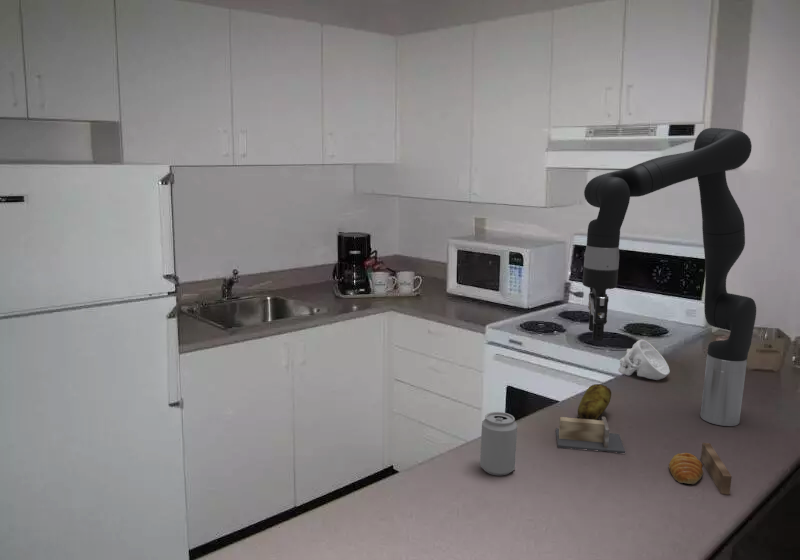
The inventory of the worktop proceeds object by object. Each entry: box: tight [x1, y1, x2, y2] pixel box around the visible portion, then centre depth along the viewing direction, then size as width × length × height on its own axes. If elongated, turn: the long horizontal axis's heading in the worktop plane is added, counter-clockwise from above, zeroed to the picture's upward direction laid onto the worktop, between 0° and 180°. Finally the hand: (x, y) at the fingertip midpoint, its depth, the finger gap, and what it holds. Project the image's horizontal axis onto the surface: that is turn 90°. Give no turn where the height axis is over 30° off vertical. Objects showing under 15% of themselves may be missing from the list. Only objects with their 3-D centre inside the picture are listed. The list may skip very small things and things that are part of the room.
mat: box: [555, 427, 626, 454], centre depth 159 cm, size 10×15×1 cm, turn 80°
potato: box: [577, 383, 612, 420], centre depth 174 cm, size 8×13×8 cm, turn 129°
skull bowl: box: [617, 339, 671, 381], centre depth 208 cm, size 10×14×12 cm
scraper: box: [558, 416, 610, 448], centre depth 159 cm, size 11×8×4 cm
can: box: [479, 411, 518, 476], centre depth 143 cm, size 8×8×12 cm
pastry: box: [668, 452, 704, 485], centre depth 143 cm, size 9×7×4 cm
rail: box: [700, 442, 733, 496], centre depth 143 cm, size 16×2×4 cm, turn 170°
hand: (595, 335), depth 155 cm, fingers open, 8 cm apart
